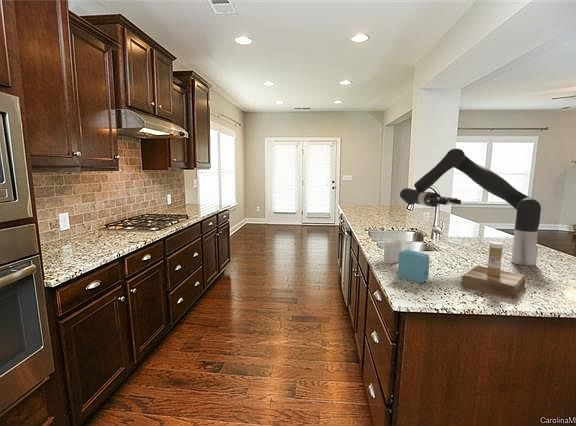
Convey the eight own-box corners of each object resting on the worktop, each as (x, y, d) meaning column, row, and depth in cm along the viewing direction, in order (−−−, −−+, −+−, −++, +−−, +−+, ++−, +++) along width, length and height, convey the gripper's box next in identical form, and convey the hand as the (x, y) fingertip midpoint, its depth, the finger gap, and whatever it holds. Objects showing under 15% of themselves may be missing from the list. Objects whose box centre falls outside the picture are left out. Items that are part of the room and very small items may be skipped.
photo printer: (395, 259, 165) (396, 236, 163) (402, 261, 161) (403, 238, 160) (382, 262, 159) (383, 239, 157) (389, 264, 156) (390, 241, 154)
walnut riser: (475, 275, 139) (476, 265, 138) (524, 286, 126) (525, 275, 125) (461, 286, 127) (462, 274, 126) (514, 299, 114) (515, 286, 113)
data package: (428, 281, 132) (430, 254, 131) (423, 284, 130) (424, 256, 128) (402, 274, 142) (403, 249, 140) (397, 276, 139) (398, 250, 137)
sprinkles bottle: (486, 275, 125) (488, 242, 123) (487, 272, 129) (490, 240, 127) (499, 277, 122) (502, 244, 120) (501, 274, 126) (504, 242, 124)
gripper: (418, 192, 161) (441, 195, 146) (440, 191, 165) (465, 194, 150) (417, 206, 162) (440, 210, 147) (439, 205, 166) (464, 209, 151)
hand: (453, 202), depth 148 cm, fingers open, 8 cm apart
